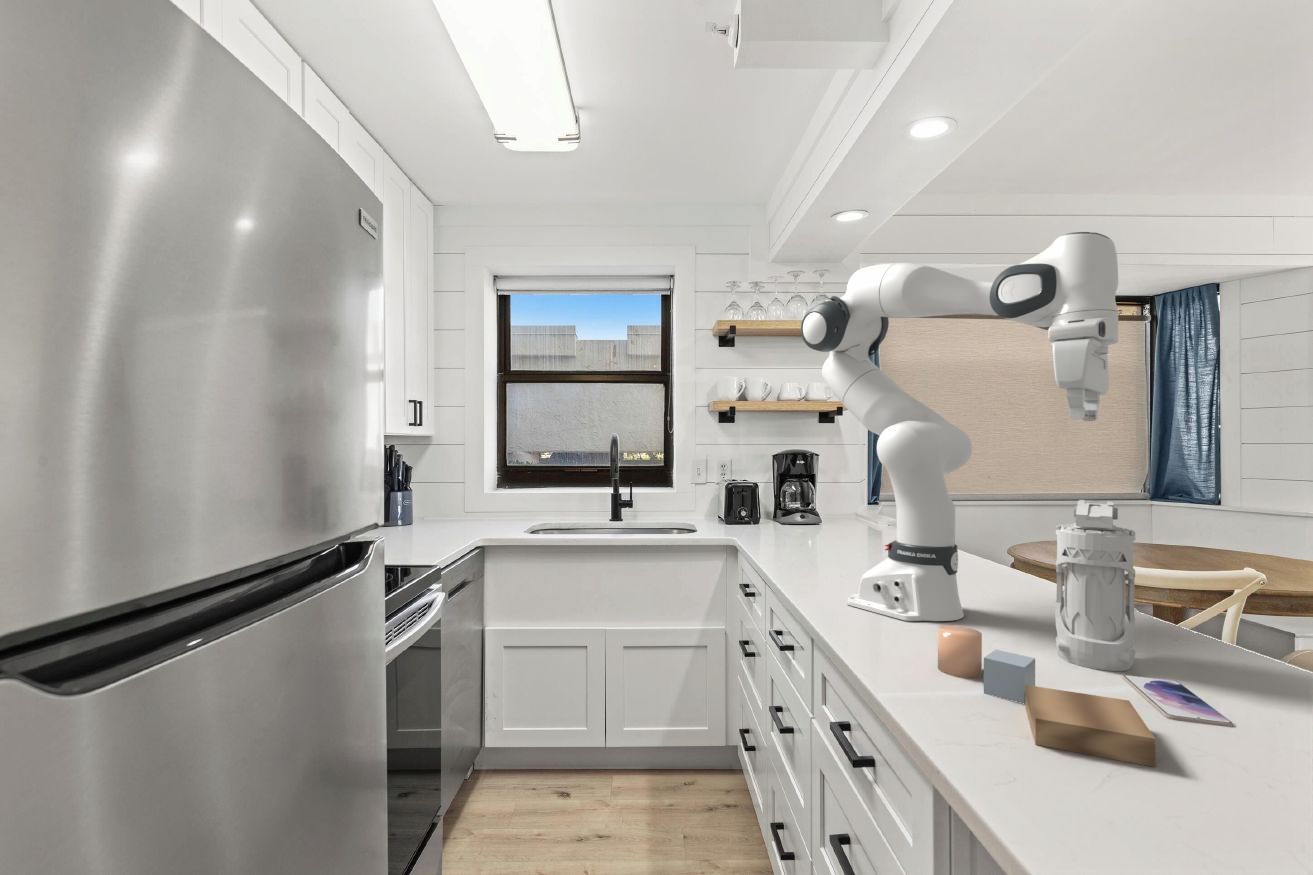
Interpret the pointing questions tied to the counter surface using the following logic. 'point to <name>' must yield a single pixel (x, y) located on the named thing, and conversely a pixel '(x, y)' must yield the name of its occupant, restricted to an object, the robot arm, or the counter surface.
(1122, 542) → the lantern
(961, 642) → the peach rounded cylinder
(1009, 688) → the cube
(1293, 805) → the counter surface
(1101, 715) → the base slab
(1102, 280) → the robot arm
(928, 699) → the counter surface
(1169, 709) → the smartphone
